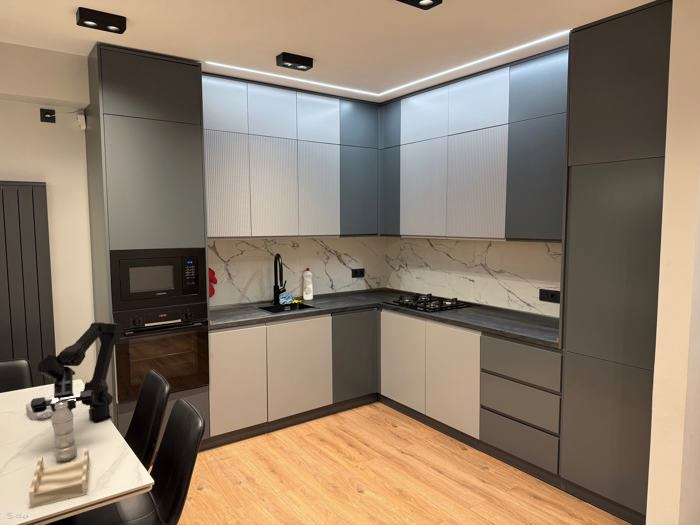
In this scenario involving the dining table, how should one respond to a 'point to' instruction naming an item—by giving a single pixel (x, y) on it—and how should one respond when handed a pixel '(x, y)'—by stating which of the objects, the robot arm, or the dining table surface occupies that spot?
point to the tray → (59, 481)
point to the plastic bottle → (63, 432)
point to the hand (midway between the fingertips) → (63, 424)
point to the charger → (45, 414)
